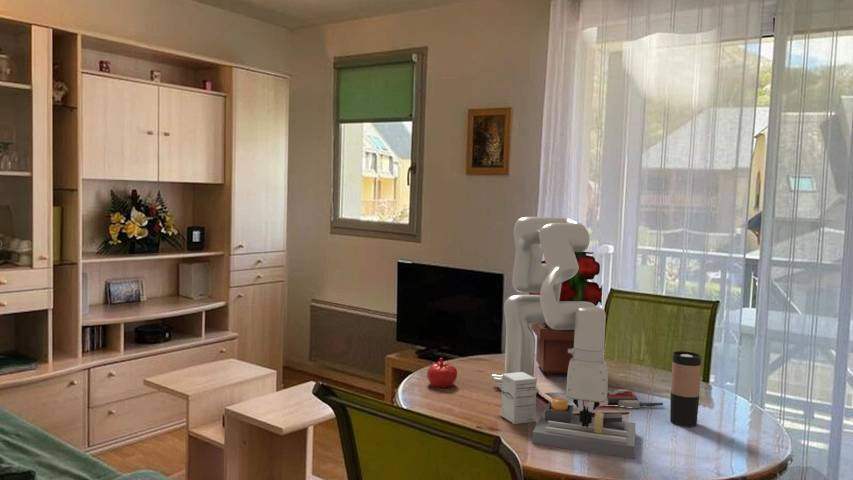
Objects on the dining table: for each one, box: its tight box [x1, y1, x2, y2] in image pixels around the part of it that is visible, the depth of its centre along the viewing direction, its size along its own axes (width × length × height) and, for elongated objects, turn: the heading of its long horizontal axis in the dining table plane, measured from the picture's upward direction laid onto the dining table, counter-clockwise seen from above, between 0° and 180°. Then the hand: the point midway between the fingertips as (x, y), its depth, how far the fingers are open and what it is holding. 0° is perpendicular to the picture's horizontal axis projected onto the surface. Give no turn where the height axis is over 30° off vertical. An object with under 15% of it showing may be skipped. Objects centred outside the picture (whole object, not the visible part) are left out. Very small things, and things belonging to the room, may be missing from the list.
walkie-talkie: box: [607, 388, 664, 409], centre depth 201 cm, size 9×4×20 cm
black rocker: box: [603, 413, 623, 423], centre depth 172 cm, size 5×4×1 cm
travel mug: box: [669, 350, 702, 428], centre depth 184 cm, size 8×8×20 cm
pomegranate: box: [426, 357, 458, 388], centre depth 215 cm, size 10×10×9 cm
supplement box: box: [500, 372, 538, 425], centre depth 184 cm, size 7×7×13 cm
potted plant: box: [528, 251, 603, 377], centre depth 236 cm, size 22×22×45 cm
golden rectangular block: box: [594, 411, 605, 434], centre depth 165 cm, size 2×3×5 cm, turn 161°
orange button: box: [550, 397, 569, 412], centre depth 177 cm, size 4×4×3 cm
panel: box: [531, 402, 636, 459], centre depth 170 cm, size 25×18×6 cm
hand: (585, 425), depth 166 cm, fingers closed
